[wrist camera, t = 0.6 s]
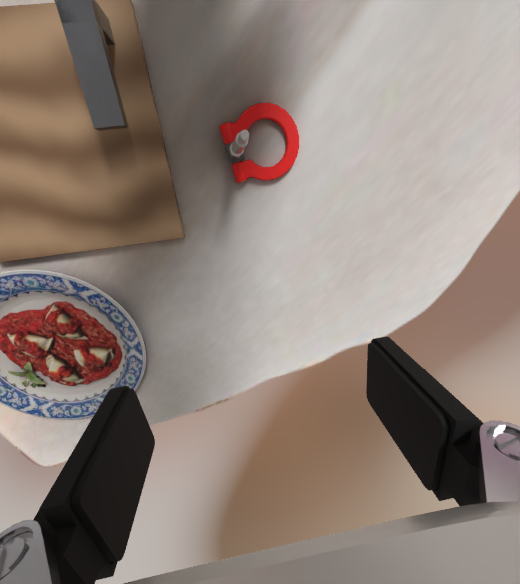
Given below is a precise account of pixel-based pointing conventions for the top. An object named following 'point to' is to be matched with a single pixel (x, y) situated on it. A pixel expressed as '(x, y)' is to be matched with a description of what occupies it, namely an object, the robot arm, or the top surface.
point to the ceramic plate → (63, 345)
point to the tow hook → (239, 138)
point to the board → (77, 144)
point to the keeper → (93, 60)
